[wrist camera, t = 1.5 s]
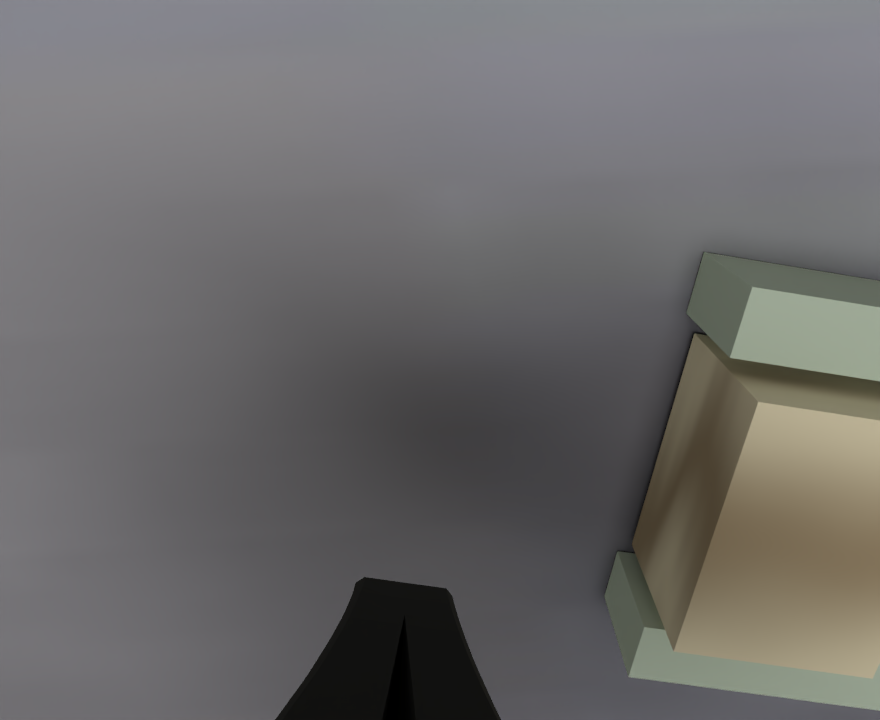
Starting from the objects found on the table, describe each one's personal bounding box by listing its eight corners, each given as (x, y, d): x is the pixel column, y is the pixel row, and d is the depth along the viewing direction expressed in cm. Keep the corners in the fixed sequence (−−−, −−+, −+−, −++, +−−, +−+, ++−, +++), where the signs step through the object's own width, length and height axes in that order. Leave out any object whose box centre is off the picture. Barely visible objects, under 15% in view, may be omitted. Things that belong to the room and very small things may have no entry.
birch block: (794, 567, 21) (872, 679, 17) (632, 544, 20) (673, 651, 17) (875, 362, 18) (985, 436, 15) (694, 333, 18) (758, 401, 14)
